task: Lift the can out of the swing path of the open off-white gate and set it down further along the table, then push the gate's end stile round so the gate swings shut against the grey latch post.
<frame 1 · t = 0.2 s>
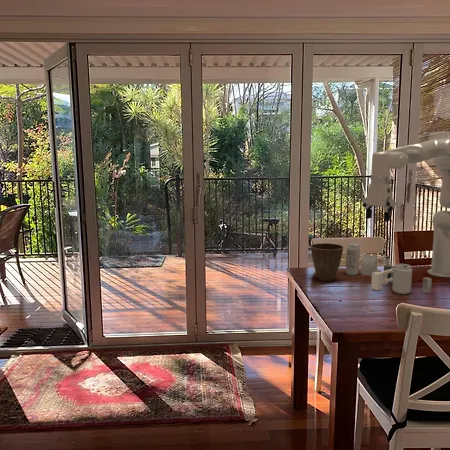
hand: (377, 219, 189), 30 cm above the table, tool pointing down, fingers open, 9 cm apart
energy drink can: (352, 274, 214), on the table
tea bag: (368, 275, 213), on the table
hinge mount: (393, 283, 199), on the table
latch post: (426, 291, 186), on the table
plant pot: (325, 279, 206), on the table
can: (401, 292, 186), on the table
gate: (385, 277, 193), point 4 cm above the table, hinge at -75.0°
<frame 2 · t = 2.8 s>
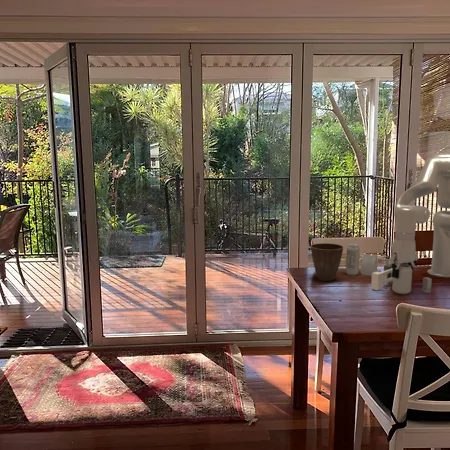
hand: (402, 276, 185), 7 cm above the table, tool pointing down, fingers closed on can, 7 cm apart
can: (401, 292, 186), on the table, touching gripper
everything else where it was.
when the fingers open (8 cm above the table, at t = 7.9 s): can drops 1 cm, on the table.
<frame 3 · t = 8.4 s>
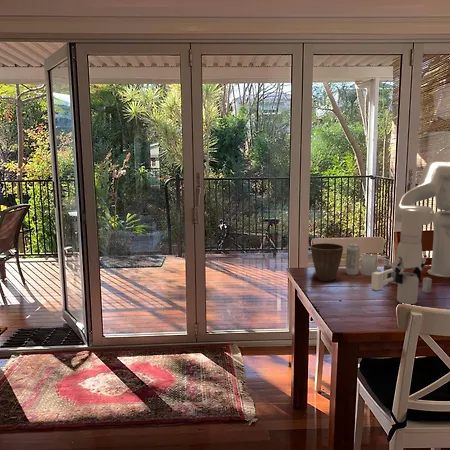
hand: (407, 281, 171), 9 cm above the table, tool pointing down, fingers open, 9 cm apart
can: (406, 303, 172), on the table
everything else where it was.
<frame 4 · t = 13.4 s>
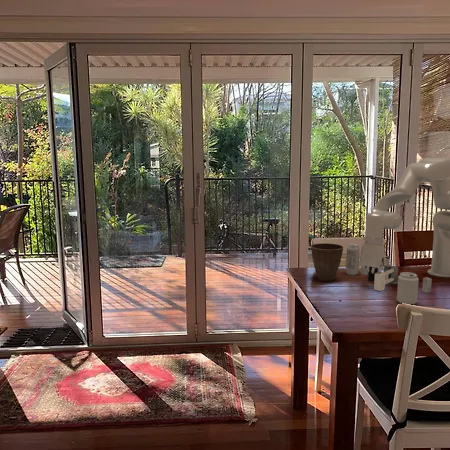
hand: (371, 281, 192), 3 cm above the table, tool pointing down, fingers closed
gate: (386, 278, 193), point 4 cm above the table, hinge at -70.0°, touching gripper
everything else where it was.
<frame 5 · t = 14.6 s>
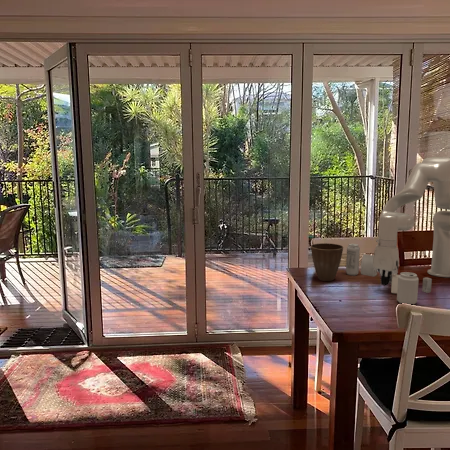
hand: (384, 284, 187), 3 cm above the table, tool pointing down, fingers closed
gate: (394, 279, 191), point 4 cm above the table, hinge at -44.1°, touching gripper
everything else where it was.
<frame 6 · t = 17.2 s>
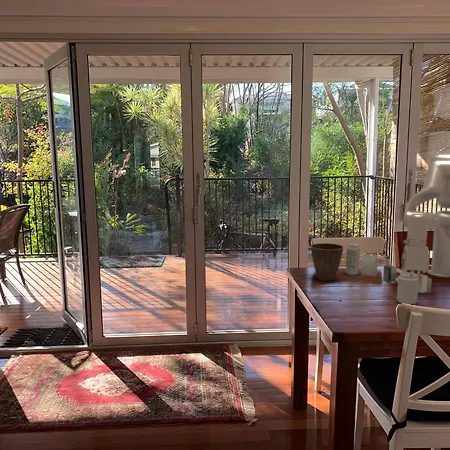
hand: (413, 285, 183), 4 cm above the table, tool pointing down, fingers closed
gate: (407, 279, 191), point 4 cm above the table, hinge at 1.0°, touching gripper, latch post
everything else where it was.
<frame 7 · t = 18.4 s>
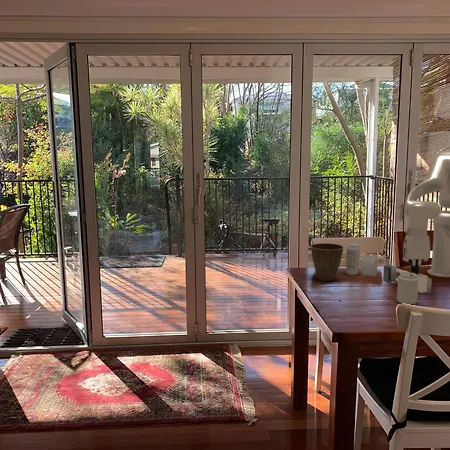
hand: (414, 273, 185), 8 cm above the table, tool pointing down, fingers closed
gate: (407, 279, 191), point 4 cm above the table, hinge at 1.0°, touching latch post
everything else where it was.
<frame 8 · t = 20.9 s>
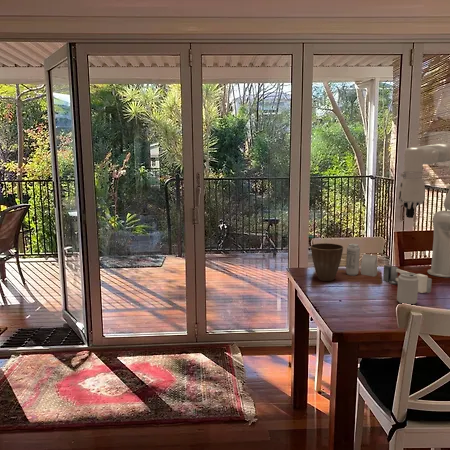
hand: (409, 217, 191), 31 cm above the table, tool pointing down, fingers closed
nothing on the table moved.
at the end: gate at +1° (first picture: -75°); can inside the target area (0.3 cm from its centre), on the table; can tilted 0° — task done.
